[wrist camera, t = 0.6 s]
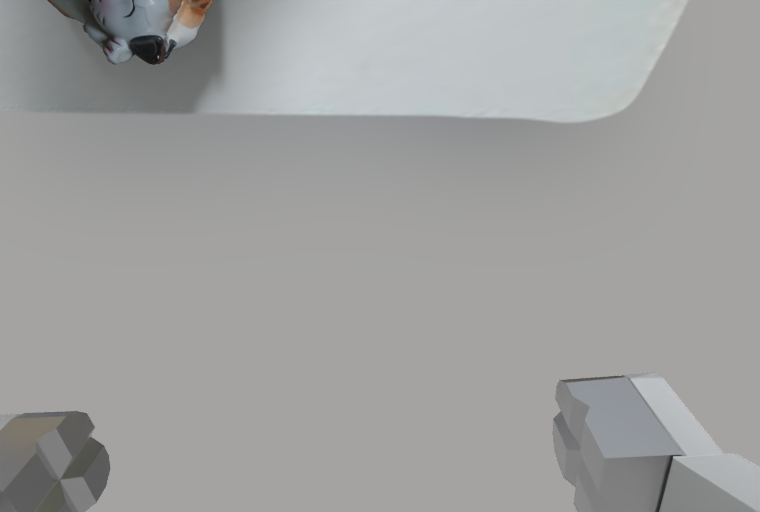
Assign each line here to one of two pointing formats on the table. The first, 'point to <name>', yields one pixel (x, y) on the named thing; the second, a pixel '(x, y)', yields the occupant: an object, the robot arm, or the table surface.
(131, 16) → the lucky cat figurine
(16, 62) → the table surface
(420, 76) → the table surface
